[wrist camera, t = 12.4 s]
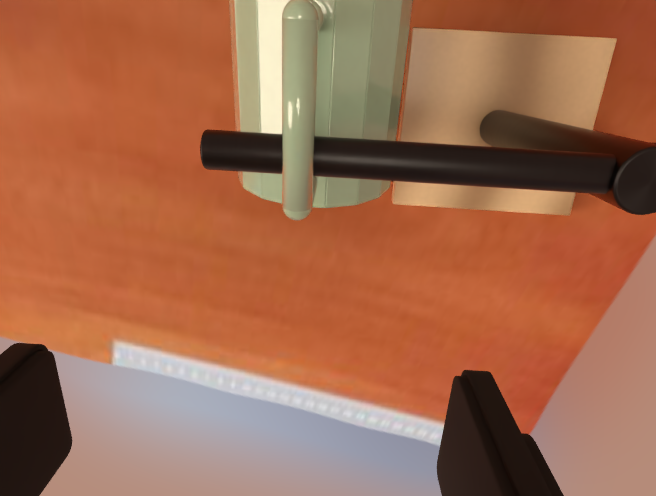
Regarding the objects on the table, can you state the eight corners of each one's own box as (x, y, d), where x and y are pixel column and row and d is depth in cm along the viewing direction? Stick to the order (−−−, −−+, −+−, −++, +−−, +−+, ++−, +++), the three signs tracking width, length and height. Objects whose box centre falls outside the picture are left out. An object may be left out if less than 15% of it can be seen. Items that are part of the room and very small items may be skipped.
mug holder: (277, 192, 29) (206, 305, 15) (279, 22, 25) (186, -49, 11) (569, 210, 28) (790, 346, 14) (614, 40, 25) (974, -9, 10)
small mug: (407, -41, 19) (384, 160, 23) (249, -49, 19) (256, 152, 24) (464, -94, 9) (406, 272, 13) (138, -110, 9) (184, 256, 14)
